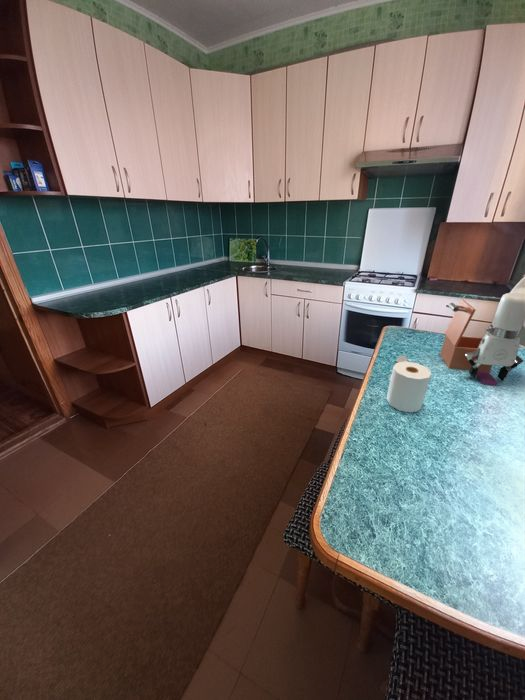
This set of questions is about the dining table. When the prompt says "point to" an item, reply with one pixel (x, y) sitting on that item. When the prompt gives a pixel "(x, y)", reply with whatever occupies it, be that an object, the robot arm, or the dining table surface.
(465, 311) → the brown box lid
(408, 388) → the toilet paper
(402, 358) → the spoon
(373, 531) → the dining table surface
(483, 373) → the chocolate bar
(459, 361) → the brown box body
